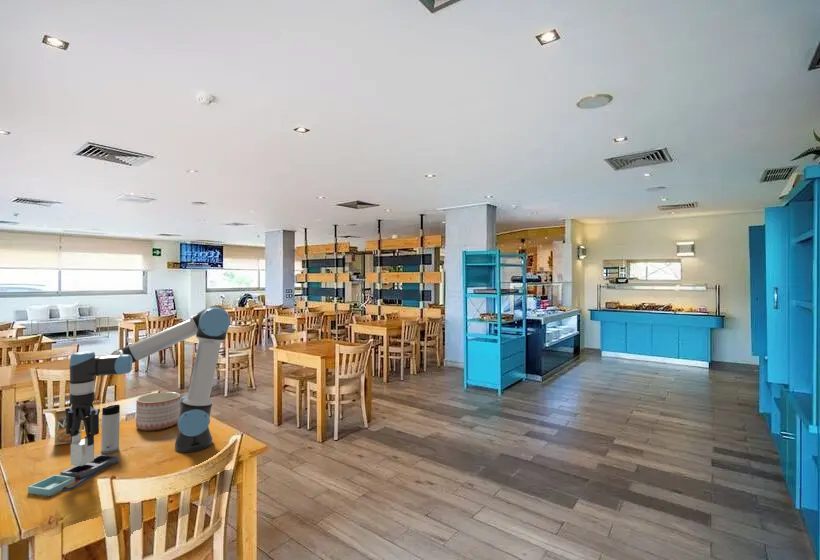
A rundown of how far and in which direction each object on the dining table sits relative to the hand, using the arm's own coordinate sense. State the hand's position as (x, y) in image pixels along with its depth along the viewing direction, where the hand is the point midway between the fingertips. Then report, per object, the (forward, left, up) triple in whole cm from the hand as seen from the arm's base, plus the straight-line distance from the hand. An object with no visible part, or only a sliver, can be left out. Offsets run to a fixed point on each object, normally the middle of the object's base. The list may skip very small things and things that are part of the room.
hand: (82, 452), depth 156 cm
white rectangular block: (0, 0, -4) cm, 4 cm away
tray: (0, +11, -9) cm, 14 cm away
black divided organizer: (0, -4, -9) cm, 9 cm away
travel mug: (+9, -20, -9) cm, 24 cm away
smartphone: (-2, +3, -9) cm, 10 cm away
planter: (+13, -51, -9) cm, 54 cm away
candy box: (+35, -24, -9) cm, 43 cm away
